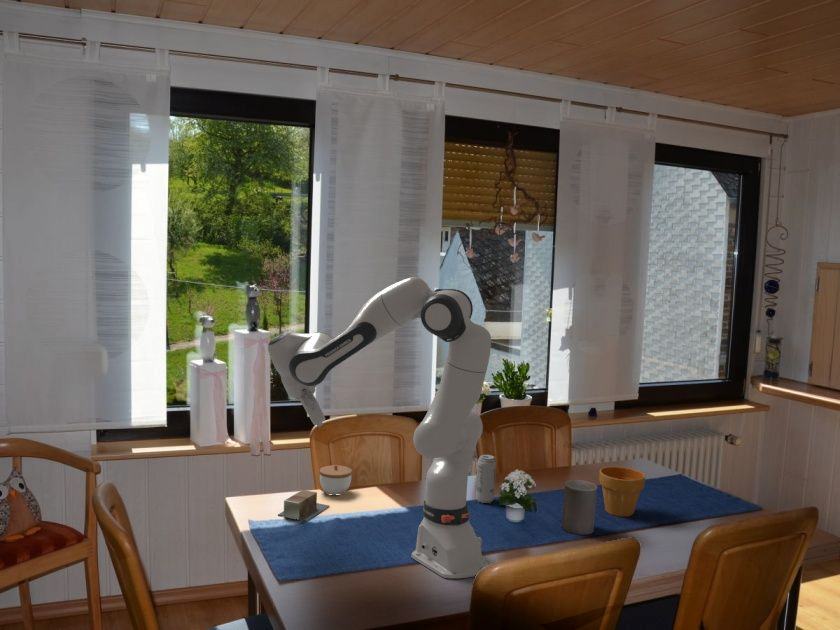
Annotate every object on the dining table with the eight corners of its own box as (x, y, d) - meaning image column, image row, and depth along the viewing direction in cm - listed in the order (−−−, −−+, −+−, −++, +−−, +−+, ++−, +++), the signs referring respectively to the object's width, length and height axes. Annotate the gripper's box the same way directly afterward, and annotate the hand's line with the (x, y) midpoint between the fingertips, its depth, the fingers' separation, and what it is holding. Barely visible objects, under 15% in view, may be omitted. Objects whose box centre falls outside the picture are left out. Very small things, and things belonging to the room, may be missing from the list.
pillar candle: (554, 526, 224) (558, 478, 222) (575, 519, 230) (578, 473, 229) (580, 537, 217) (584, 488, 215) (600, 530, 223) (604, 482, 221)
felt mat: (306, 521, 219) (306, 520, 219) (278, 515, 223) (278, 514, 223) (329, 506, 232) (329, 505, 232) (302, 501, 236) (302, 500, 236)
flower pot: (641, 523, 230) (644, 482, 229) (594, 515, 235) (597, 476, 233) (643, 508, 244) (646, 470, 242) (599, 501, 248) (601, 464, 247)
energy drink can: (494, 504, 241) (497, 459, 239) (475, 503, 241) (478, 458, 239) (493, 498, 247) (495, 454, 245) (475, 497, 247) (477, 453, 245)
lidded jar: (356, 491, 248) (358, 463, 247) (340, 500, 238) (341, 472, 237) (329, 485, 252) (330, 458, 251) (312, 494, 242) (313, 466, 242)
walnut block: (298, 503, 219) (316, 492, 229) (284, 500, 220) (302, 489, 231) (298, 519, 219) (316, 508, 229) (283, 516, 221) (302, 505, 231)
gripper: (318, 391, 201) (337, 432, 206) (304, 369, 220) (322, 407, 225) (297, 401, 200) (317, 443, 205) (284, 378, 219) (303, 417, 223)
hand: (319, 424), depth 215 cm, fingers closed
